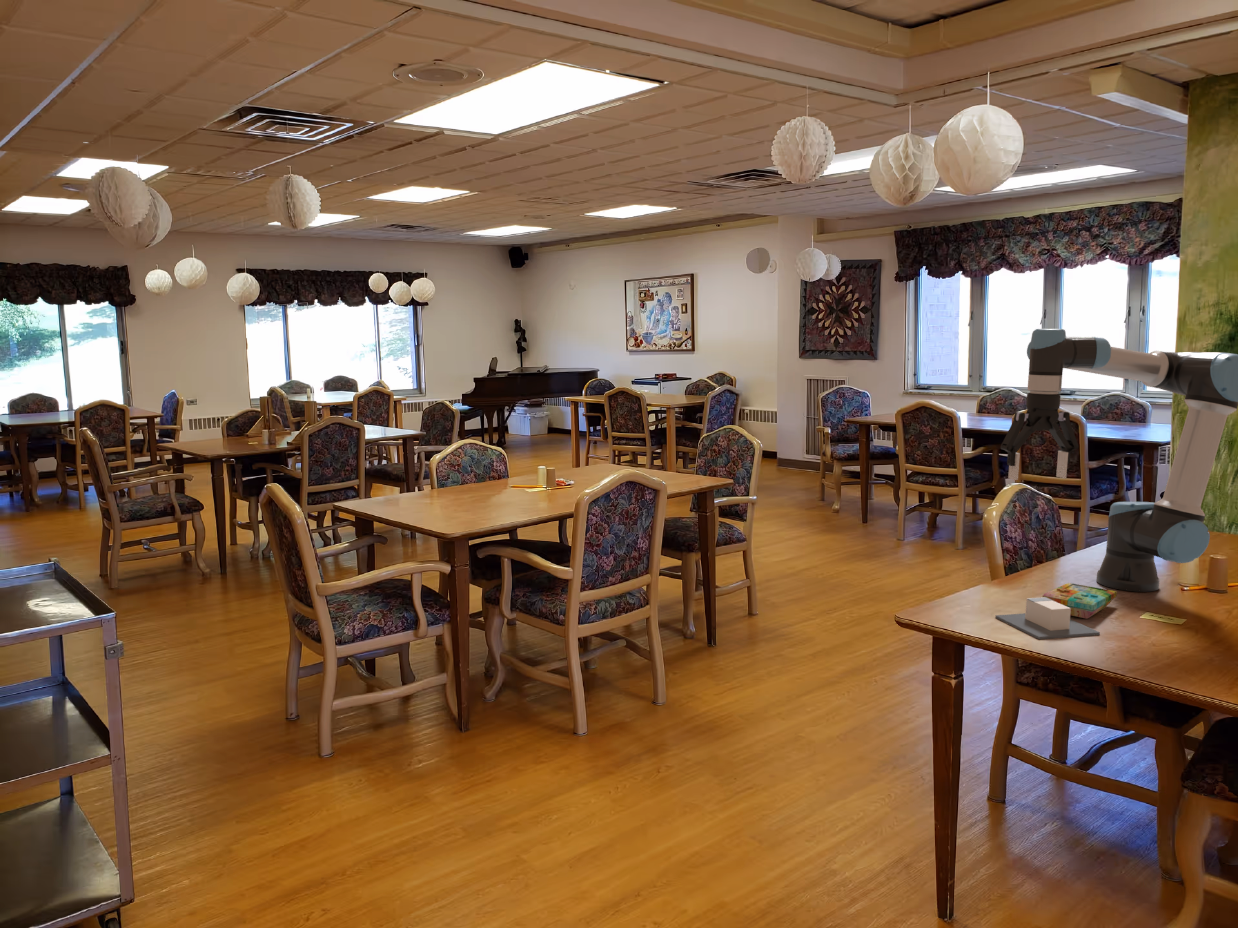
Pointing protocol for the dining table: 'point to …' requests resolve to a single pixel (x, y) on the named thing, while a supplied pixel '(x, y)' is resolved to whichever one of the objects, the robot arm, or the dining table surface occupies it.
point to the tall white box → (1047, 613)
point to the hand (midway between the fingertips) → (1037, 478)
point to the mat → (1043, 633)
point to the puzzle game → (1081, 598)
